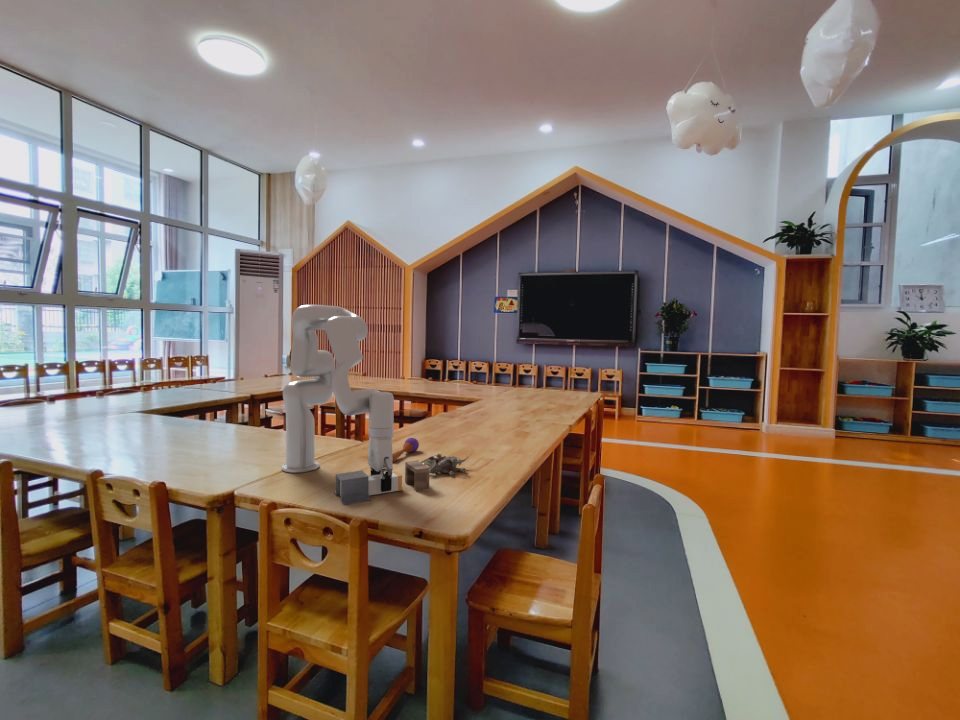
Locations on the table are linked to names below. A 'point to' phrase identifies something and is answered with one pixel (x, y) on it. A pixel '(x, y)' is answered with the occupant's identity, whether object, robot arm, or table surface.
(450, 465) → the figurine
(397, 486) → the white block
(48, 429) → the table surface
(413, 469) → the socket block
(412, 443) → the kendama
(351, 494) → the sleeve
